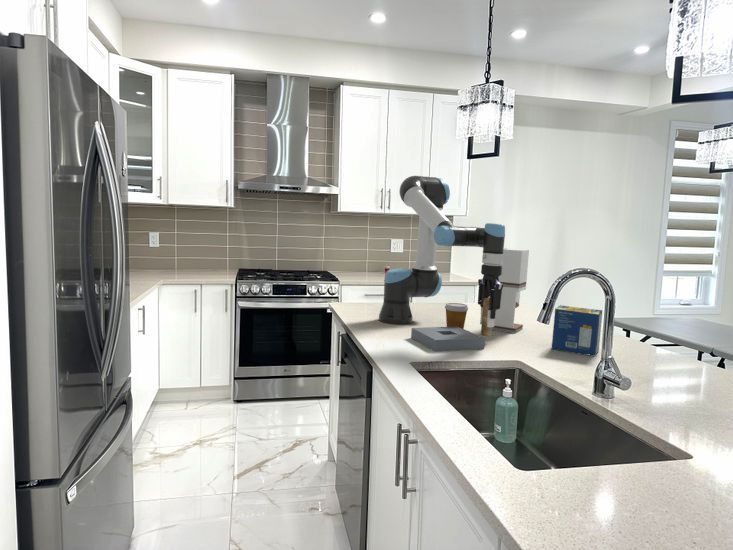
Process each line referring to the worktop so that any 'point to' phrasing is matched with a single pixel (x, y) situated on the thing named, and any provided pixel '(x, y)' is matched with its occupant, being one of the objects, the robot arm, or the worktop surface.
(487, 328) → the oak peg
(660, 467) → the worktop surface
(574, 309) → the protein box
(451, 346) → the socket block
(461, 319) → the disposable coffee cup
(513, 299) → the white banded pillar
